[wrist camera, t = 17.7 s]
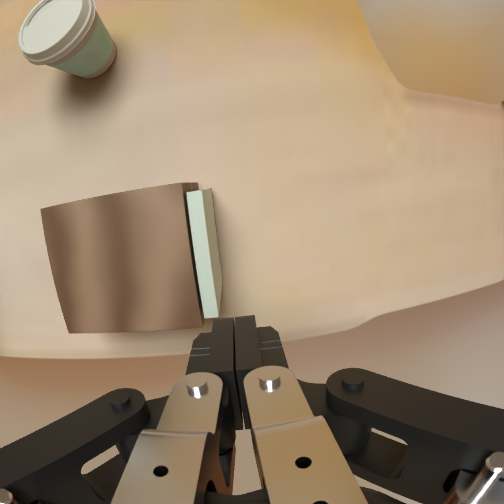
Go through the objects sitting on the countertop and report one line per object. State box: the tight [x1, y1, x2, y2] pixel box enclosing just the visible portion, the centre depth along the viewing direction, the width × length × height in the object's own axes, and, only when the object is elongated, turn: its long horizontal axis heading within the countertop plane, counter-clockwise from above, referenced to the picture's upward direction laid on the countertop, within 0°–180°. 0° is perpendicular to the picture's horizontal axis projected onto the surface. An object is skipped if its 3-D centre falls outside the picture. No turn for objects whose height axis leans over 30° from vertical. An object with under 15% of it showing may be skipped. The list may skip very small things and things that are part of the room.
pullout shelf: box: [186, 188, 223, 318], centre depth 29 cm, size 14×10×9 cm
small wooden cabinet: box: [41, 183, 204, 333], centre depth 29 cm, size 14×12×10 cm
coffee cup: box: [18, 0, 116, 78], centre depth 23 cm, size 8×8×12 cm
